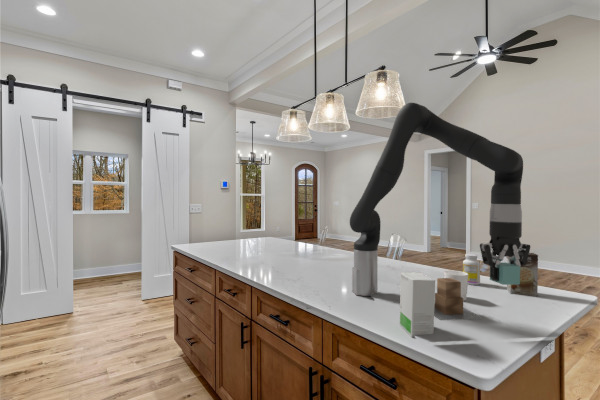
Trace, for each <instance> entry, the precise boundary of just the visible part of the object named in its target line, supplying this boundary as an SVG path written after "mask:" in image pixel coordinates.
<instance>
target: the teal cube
mask: <svg viewBox="0 0 600 400" xmlns="http://www.w3.org/2000/svg"><path fill="white" fill-rule="evenodd" d="M498 268H499V281H494V280H492V279H491V277H490V276H489V281H492V282H494V283H496V284H497V283H498V284H499V285H503V286H505V285H506V286H507V285H514V284H520V266H517V265H514V264H510V263H507V261H506V262H505V261H504V262H503V261H501V263H500V265H499V267H498Z"/></svg>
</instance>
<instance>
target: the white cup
mask: <svg viewBox="0 0 600 400" xmlns="http://www.w3.org/2000/svg"><path fill="white" fill-rule="evenodd" d="M444 278H452V279H455V280H457V281H460V282H461V297H462V298H463V301H467V295H468V286H469V284H468V273H465V272H463V271H461V270H460V271H459V270H445V271H444Z"/></svg>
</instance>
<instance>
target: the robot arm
mask: <svg viewBox="0 0 600 400" xmlns="http://www.w3.org/2000/svg"><path fill="white" fill-rule="evenodd" d="M414 133H418V134H421V135H425V136H429V137H430V138H433V139H435V140H437V141H440V142H441V143H443V144H444V145H445V146H447V147H448V148H450V149H451V150H453V151H454V152H457V153H458V154H461V155H462V156H463V157H464V156H465V157H466V158H468V159H470V160H472V161H475V162H478V163H479V164H481V165H482V166H484V167H486V168H488V169H490V170H491V171H494V182H493V185H491V190H490V191H491V192H490V208H489V233H488V234H489V236H490V240H489V242H487V243H480V244H479V249H480V250H479V251H480V254H481V259H482V262H483V264H484V265H487V266H489V278H490V277H491V279H492V280H494V281H499V268H498V267H499V265H500V263H501V262H503V260H504V258H505V257H506V259H508V260H509V263H510V264H514V265H517V266H520V267H521V266H522V265H524V266H525V265H526V264H527V260H528V255H529V253H530V252H531V251H530V250H531V245H530V244H526V243H521V240H520V239H521V238H522V233H523V232H522V230H523V228H522V227H523V226H522V224H523V211H522V189H521V186H522V181H523V175H524V174H523V173H524V160H523V156H522V155H521V154H520V153H519V152H518V151H515V150H514V149H512V148H510V147H508V146H505V145H502V144H500V143H496V142H494V141H491V140H489V139H488V138H486V137H485V136H482V135H480V134H478V133H476V132H473V131H471V130H468V129H466V128H464V127H461V126H458V125H456V124H453V123H450V122H448V121H446V120H445V119H443V118H441V117H439V116H438V115H437V114H435V113H434V112H432V111H431V110H430V109H428V108H427V107H426V106H424V105H422V104H419V103H417V102H408V103H406V104H404V105H403V106H402V107H401V108H400V109H399V110H398V112H397V114H396V116H395V119H394V123H393V126H392V129H391V131H390V134H389V138H388V139H387V142H386V145H385V146H384V149H383V151H382V152H381V155H380V157H379V159H378V161H377V163H376V165H375V167H374V170H373V172H372V175H371V177H370V179H369V181H368V183H367V186H366V188H365V190H364V192H363V193H362V196H361V198H360V199H359V201H358V202H357V203H356V206H355V207H354V208H353V210H352V212H351V215H350V218H349V226H350V229H351V230H352V231H353V232H354V233H359V234H360V236H359V238H358V239H356V240H355V241H354V243H353V267H352V269H351V270H352V275H351V276H352V277H351V280H352V281H351V282H352V283H351V284H352V286H351V289H352V290H351V291H352V292H353V293H354V295H356V296H364V297H370V296H371V295H378V266H379V265H378V261H379V260H378V253H379V252H378V248H379V244H380V241H381V217H380V214H379V213H378V212H377V210H375V208H376V207H377V206H378V204H379V203H380V202H381V201H382V199H384V198H385V197H386V196H387V195H388V194H389V193H390V192H391V191H392V190H393V188H395V185H396V184H397V182H398V181H399V178H400V177H401V174H402V172H403V169H404V165H405V158H406V157H405V154H406V150H407V146H408V144H409V143H410V140H411V139H412V137H413V135H414ZM522 256H523V258H522ZM521 259H522V260H521ZM492 280H491V281H492ZM494 281H493V282H494Z"/></svg>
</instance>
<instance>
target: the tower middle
mask: <svg viewBox="0 0 600 400" xmlns="http://www.w3.org/2000/svg"><path fill="white" fill-rule="evenodd" d="M436 281H437V282H436V285H437V287H436V293H437V294H439V295H441V296H443V297H445V298H461V282H460V281H457V280H455V279H452V278H445V277H442V278H441V277H440V278H439V277H438V278H436Z"/></svg>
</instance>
